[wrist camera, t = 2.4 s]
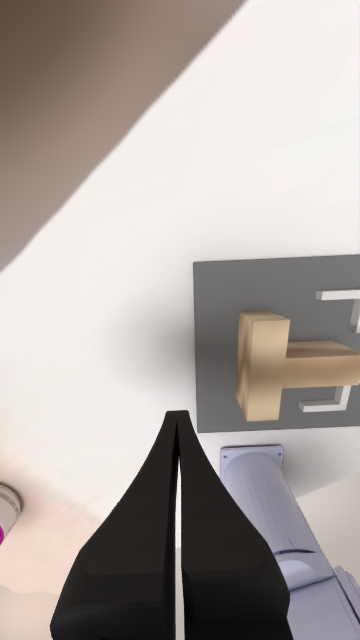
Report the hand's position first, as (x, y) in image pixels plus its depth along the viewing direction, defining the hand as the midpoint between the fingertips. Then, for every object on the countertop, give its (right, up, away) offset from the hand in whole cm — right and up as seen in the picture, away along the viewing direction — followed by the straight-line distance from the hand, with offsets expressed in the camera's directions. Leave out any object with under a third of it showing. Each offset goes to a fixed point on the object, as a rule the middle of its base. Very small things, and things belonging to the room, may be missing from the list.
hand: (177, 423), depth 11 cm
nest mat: (+14, +3, +9) cm, 17 cm away
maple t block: (+11, +3, +8) cm, 14 cm away
